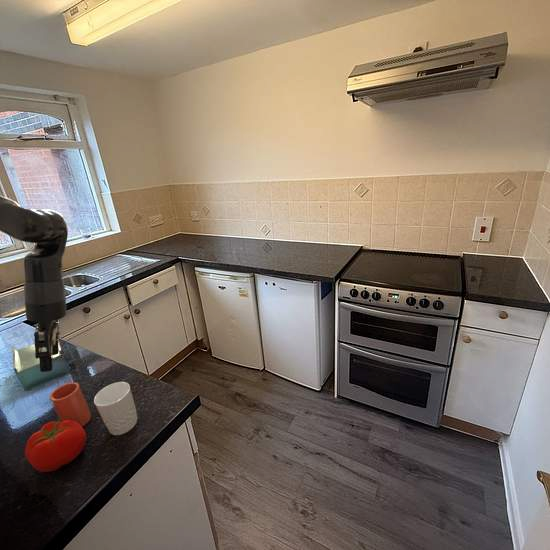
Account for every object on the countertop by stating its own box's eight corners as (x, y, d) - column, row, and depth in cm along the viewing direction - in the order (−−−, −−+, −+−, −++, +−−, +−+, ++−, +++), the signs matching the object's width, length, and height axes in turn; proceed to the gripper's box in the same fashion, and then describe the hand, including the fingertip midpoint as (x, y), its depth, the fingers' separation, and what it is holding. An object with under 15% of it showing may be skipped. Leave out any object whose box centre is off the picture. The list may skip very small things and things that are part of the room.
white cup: (99, 432, 74) (86, 400, 70) (126, 408, 80) (115, 378, 77) (121, 442, 70) (108, 409, 67) (147, 416, 77) (136, 386, 73)
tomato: (93, 460, 67) (80, 431, 63) (32, 492, 61) (15, 463, 58) (88, 429, 75) (77, 402, 72) (35, 455, 69) (20, 427, 66)
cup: (60, 434, 74) (45, 403, 71) (68, 416, 80) (54, 386, 76) (87, 426, 76) (74, 396, 72) (93, 408, 81) (81, 379, 78)
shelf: (22, 368, 102) (12, 347, 99) (63, 352, 109) (55, 332, 106) (24, 391, 91) (13, 368, 88) (70, 371, 98) (61, 350, 95)
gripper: (32, 290, 73) (37, 351, 77) (15, 308, 61) (22, 380, 64) (69, 289, 77) (72, 347, 80) (60, 306, 65) (64, 374, 68)
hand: (50, 362), depth 72 cm, fingers open, 8 cm apart
